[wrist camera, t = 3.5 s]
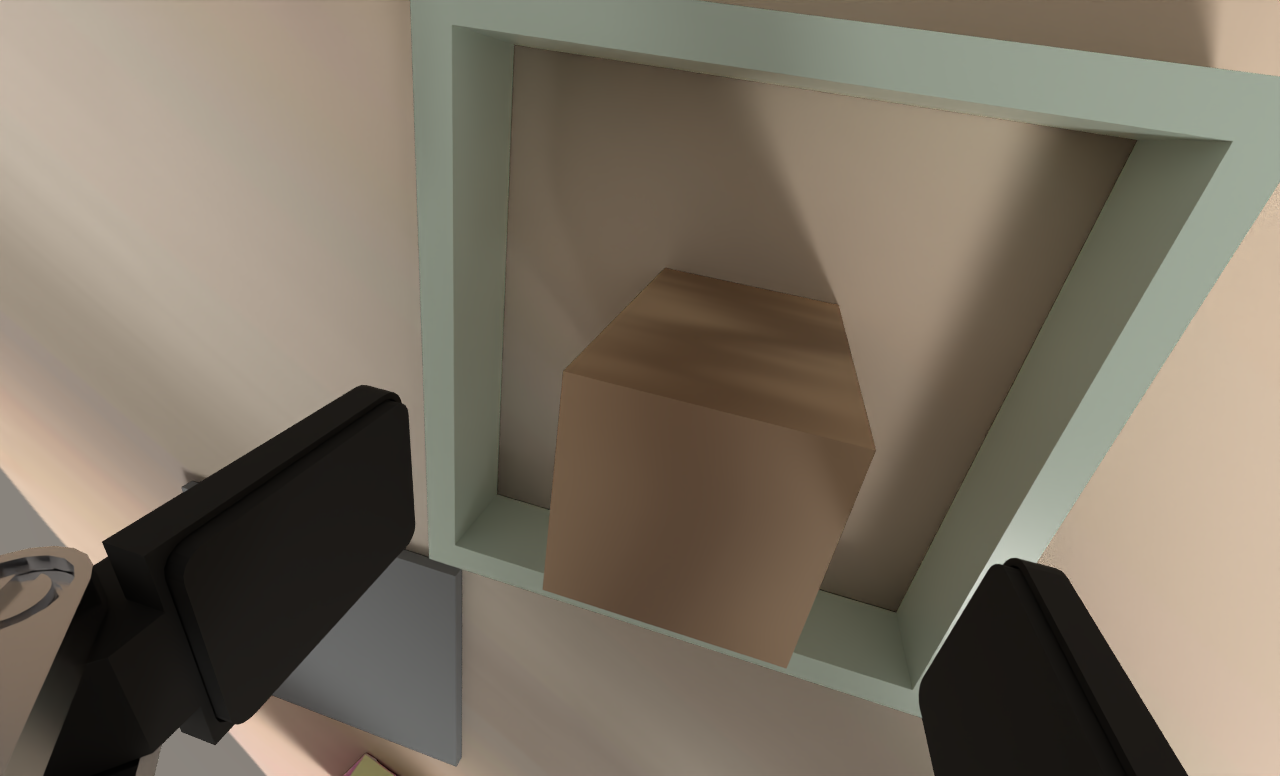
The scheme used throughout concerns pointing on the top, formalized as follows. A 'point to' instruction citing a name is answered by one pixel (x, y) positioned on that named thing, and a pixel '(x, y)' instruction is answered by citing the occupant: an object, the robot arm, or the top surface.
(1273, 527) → the top surface
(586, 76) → the top surface
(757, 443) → the block
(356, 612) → the mat
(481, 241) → the green square frame
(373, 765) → the box
